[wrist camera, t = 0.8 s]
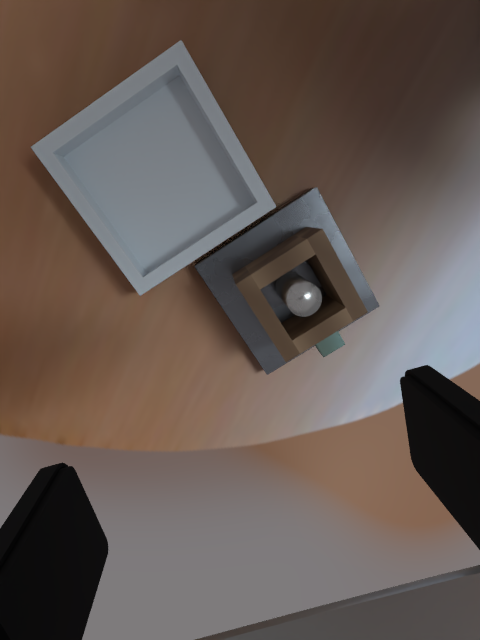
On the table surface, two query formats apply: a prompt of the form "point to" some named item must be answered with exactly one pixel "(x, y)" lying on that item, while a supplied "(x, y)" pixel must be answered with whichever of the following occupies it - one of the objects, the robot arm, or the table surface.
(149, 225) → the tray
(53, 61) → the table surface
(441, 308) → the table surface
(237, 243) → the grey peg base
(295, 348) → the brown hollow square block
